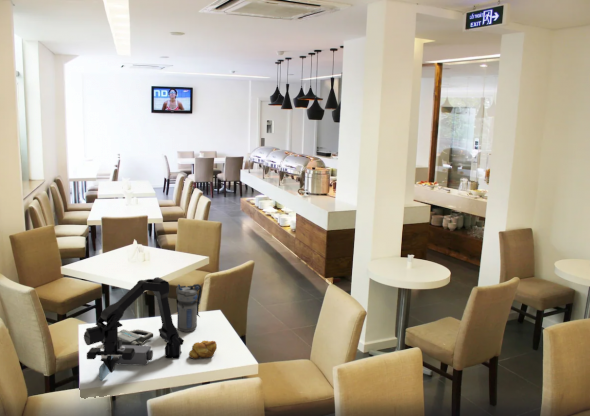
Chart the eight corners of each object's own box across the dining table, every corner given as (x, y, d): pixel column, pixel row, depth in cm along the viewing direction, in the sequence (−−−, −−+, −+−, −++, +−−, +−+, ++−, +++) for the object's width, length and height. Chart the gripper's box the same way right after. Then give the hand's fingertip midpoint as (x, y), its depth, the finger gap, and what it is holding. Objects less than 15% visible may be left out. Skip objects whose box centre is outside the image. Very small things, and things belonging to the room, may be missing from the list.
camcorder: (137, 352, 239) (137, 342, 238) (99, 346, 243) (99, 336, 243) (154, 339, 254) (154, 329, 253) (119, 333, 259) (119, 323, 258)
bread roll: (190, 362, 231) (190, 346, 230) (186, 353, 240) (186, 337, 239) (217, 358, 237) (218, 342, 235) (212, 349, 245) (212, 334, 244)
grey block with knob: (153, 358, 234) (153, 344, 232) (149, 365, 227) (149, 351, 226) (118, 356, 233) (117, 343, 232) (112, 364, 226) (112, 350, 225)
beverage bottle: (203, 330, 266) (203, 285, 262) (178, 334, 260) (178, 288, 256) (198, 323, 275) (199, 279, 271) (174, 326, 269) (174, 282, 265)
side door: (102, 380, 212) (102, 366, 211) (98, 379, 212) (98, 366, 211) (116, 363, 226) (115, 351, 225) (112, 363, 226) (112, 351, 225)
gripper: (138, 330, 220) (138, 363, 223) (95, 329, 219) (96, 362, 222) (131, 341, 209) (131, 376, 212) (85, 340, 208) (86, 375, 211)
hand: (111, 372), depth 214 cm, fingers closed
